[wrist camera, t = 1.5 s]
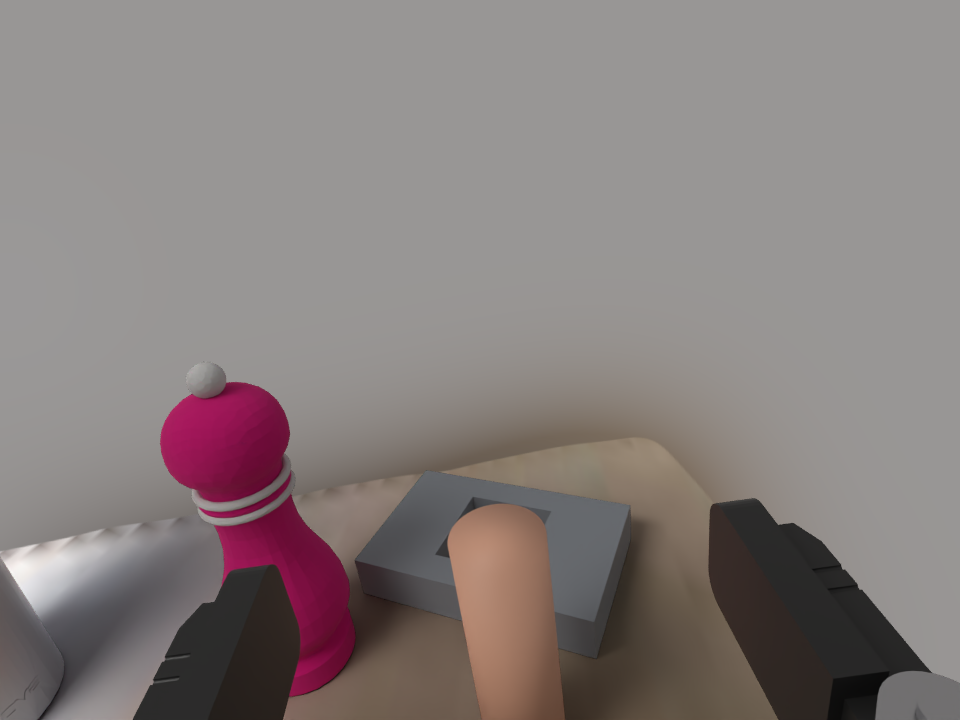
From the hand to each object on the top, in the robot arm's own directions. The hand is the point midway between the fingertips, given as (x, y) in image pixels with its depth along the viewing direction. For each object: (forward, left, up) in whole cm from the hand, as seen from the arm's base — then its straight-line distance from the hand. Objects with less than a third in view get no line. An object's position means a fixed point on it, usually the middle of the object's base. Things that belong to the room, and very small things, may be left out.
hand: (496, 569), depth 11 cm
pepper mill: (-20, +10, -23) cm, 32 cm away
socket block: (-11, +20, -23) cm, 32 cm away
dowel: (-5, +9, -23) cm, 25 cm away
